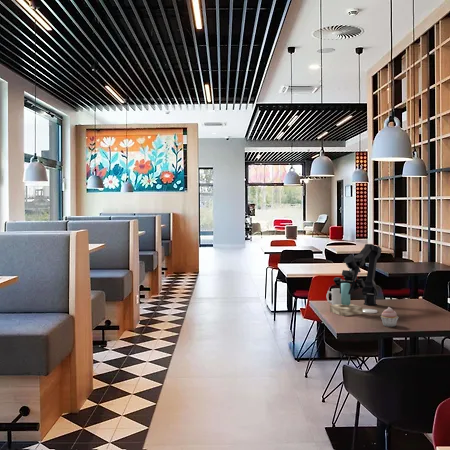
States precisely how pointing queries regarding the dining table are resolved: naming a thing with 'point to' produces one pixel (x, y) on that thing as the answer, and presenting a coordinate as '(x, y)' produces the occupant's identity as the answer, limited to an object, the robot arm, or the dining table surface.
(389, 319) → the cupcake
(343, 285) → the dowel
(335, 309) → the pocket collar
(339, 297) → the mug
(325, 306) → the dining table surface
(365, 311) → the pad
